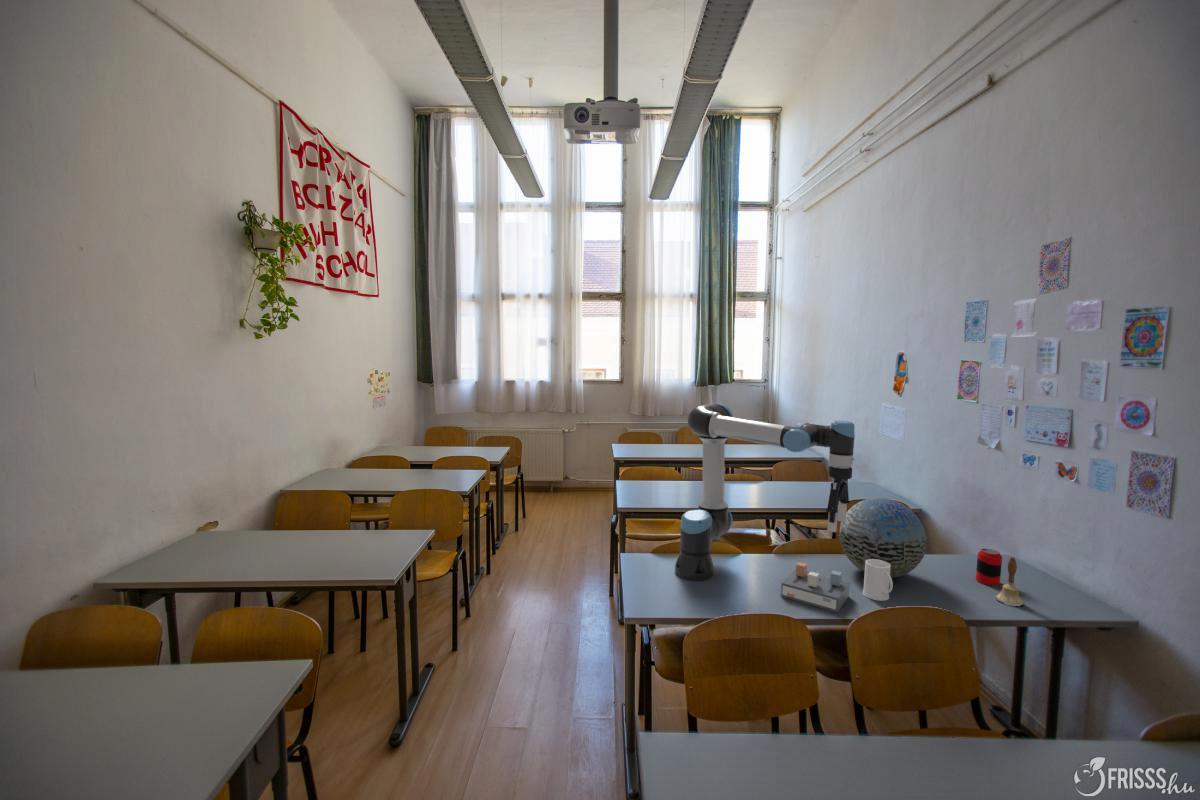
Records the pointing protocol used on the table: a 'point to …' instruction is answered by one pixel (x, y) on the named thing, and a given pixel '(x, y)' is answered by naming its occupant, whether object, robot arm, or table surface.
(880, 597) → the mug
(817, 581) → the slider ivory
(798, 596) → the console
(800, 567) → the slider terracotta
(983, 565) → the soda can
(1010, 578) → the hand bell
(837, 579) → the block
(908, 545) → the decorative globe
